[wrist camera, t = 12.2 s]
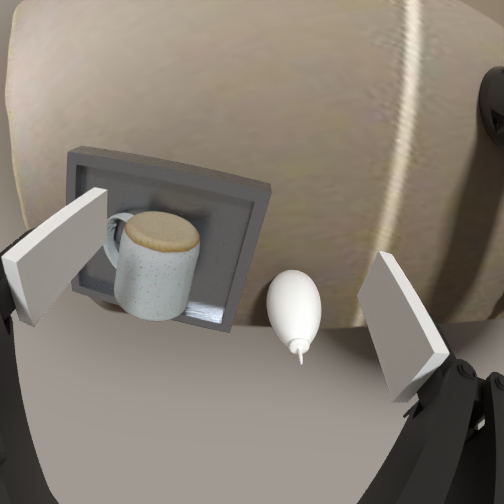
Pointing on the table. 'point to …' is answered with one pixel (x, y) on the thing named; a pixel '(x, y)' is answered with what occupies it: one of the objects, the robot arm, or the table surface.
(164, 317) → the ceramic mug
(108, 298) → the grey piece
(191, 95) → the table surface
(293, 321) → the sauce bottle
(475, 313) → the table surface
